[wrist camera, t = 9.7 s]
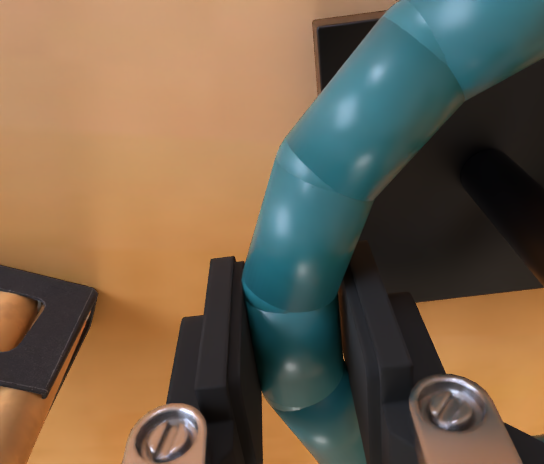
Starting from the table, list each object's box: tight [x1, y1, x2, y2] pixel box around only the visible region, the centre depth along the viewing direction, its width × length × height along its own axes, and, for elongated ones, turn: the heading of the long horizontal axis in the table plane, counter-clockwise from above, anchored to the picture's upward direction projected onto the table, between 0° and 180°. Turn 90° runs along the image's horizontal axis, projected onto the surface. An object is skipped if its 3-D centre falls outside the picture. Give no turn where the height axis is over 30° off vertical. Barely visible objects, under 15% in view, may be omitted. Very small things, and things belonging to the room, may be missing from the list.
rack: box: [312, 10, 544, 303], centre depth 13 cm, size 10×10×9 cm
